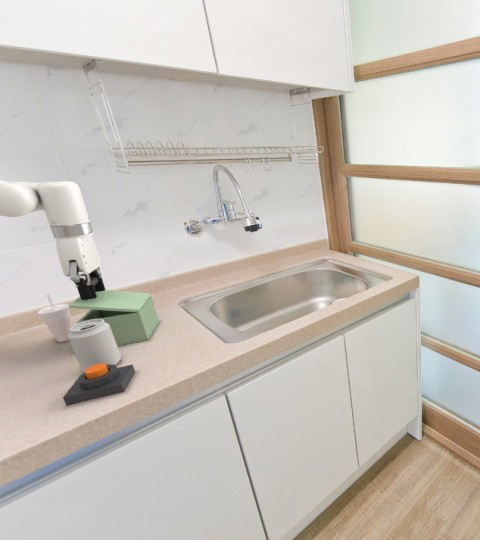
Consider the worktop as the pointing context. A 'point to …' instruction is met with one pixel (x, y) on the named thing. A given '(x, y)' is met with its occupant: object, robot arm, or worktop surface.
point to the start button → (96, 371)
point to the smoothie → (57, 320)
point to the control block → (100, 385)
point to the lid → (112, 300)
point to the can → (93, 343)
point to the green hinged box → (128, 323)
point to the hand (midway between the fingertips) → (93, 294)
